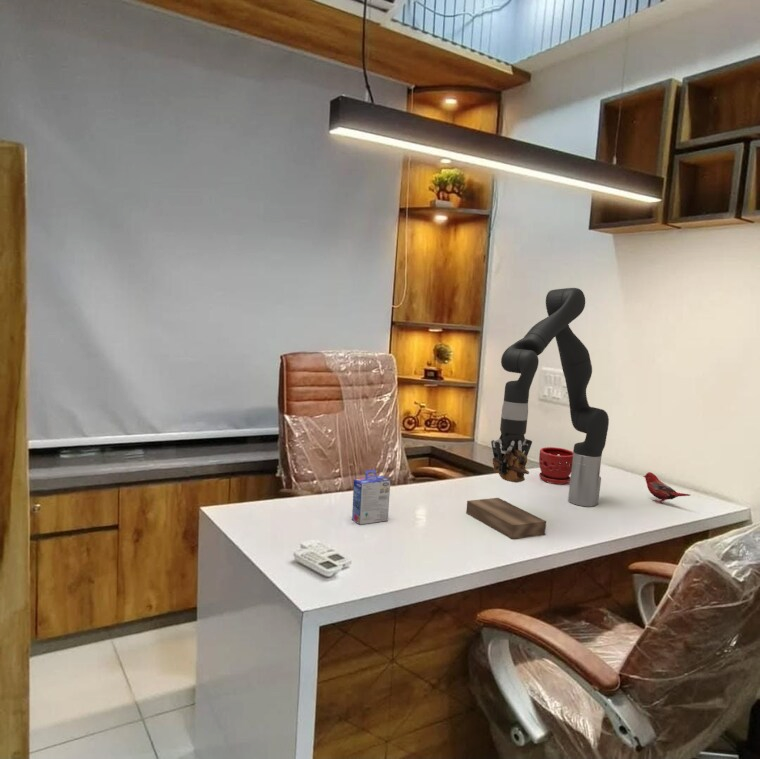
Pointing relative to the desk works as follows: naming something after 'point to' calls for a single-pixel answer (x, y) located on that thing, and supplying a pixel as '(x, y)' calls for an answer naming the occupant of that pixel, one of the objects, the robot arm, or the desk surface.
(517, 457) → the wooden carving
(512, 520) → the walnut plinth
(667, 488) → the decorative bird figurine
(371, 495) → the ink cartridge box
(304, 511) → the desk surface
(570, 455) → the plant pot
